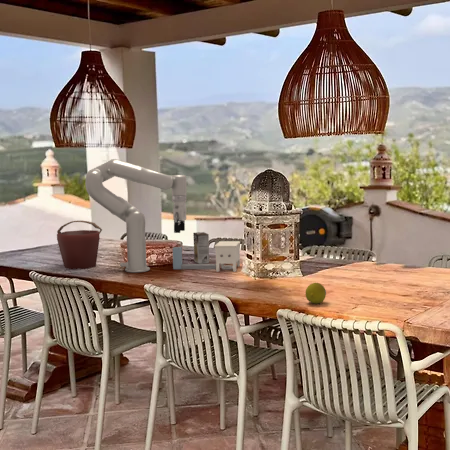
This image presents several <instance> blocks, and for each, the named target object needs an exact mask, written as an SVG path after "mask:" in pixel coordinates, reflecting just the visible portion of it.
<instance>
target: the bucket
mask: <svg viewBox="0 0 450 450" xmlns="http://www.w3.org/2000/svg"><path fill="white" fill-rule="evenodd" d="M72 223H84V224H87V225H91V226H93V228H95V229H98V230H93V229H92V230H90V229H87V230H86V229H84V230H83V229H79V230H70V231H68V230H67V231H62V230H63V229H64V228H65V227H67V226H68V225H70V224H72ZM61 231H62V232H61ZM102 231H103V229H102V227H100V226H99V225H98V224H97V223H96V222H93V221H90V220H89V221H88V220H72V221H70V222H67V223H65V224H63V225H61V226H60V227H59V228H58V230H57V231H56V232H57V233H56V240H57V245H58V248H59V252H60V255H61V260H62V264H63V266H64V267H63V268H64V269H67V270H86V269H91V268H96V267H97V260H98V251H99V246H100V245H99V244H100V236H101V233H102Z"/></svg>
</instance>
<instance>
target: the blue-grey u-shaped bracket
mask: <svg viewBox="0 0 450 450" xmlns="http://www.w3.org/2000/svg"><path fill="white" fill-rule="evenodd" d="M172 267H173V268H172V269H173V270H216V263H215V264H213V263H205V264H198V263H194V264H193V263H183V247H182V246H174V247H173V248H172Z"/></svg>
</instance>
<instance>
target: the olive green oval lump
mask: <svg viewBox="0 0 450 450" xmlns="http://www.w3.org/2000/svg"><path fill="white" fill-rule="evenodd" d="M326 295H327V290H326V288H325V287H324V285H323V284H321V283H319V282H313V283H310V284H309V285H307V287H306V289H305V298H306V299H307V301H308V302H309V303H311V304H314V305H315V304H316V305H318V304H321V303H322V302H324V301H325V299H326V297H327V296H326Z"/></svg>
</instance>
